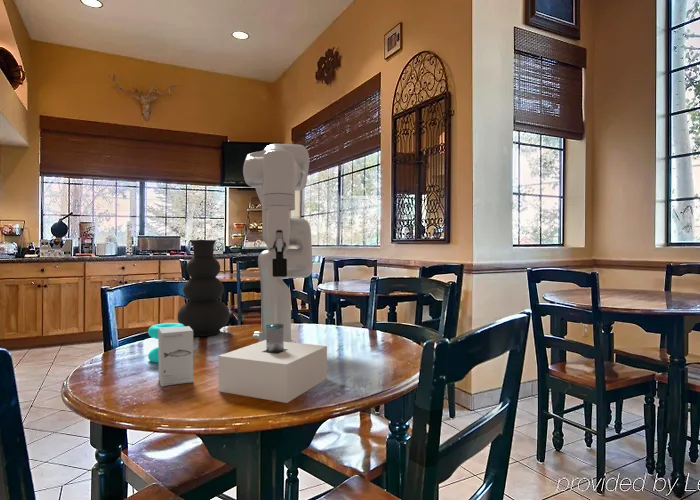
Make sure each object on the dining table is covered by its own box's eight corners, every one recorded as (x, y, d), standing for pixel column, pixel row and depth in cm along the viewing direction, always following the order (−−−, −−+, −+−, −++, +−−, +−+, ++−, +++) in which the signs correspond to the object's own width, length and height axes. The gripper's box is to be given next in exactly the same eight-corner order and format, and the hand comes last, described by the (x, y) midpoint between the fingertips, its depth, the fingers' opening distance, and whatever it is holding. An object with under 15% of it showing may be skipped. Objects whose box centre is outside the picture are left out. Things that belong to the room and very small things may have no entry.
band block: (218, 391, 97) (218, 355, 97) (266, 370, 114) (265, 339, 114) (287, 402, 90) (286, 364, 90) (327, 378, 106) (326, 346, 106)
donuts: (191, 324, 126) (157, 329, 118) (192, 359, 126) (157, 366, 118) (175, 320, 132) (142, 325, 125) (176, 353, 133) (142, 359, 125)
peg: (262, 358, 101) (262, 325, 101) (272, 354, 104) (272, 323, 104) (277, 360, 99) (277, 327, 99) (287, 356, 103) (286, 324, 103)
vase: (192, 329, 171) (191, 240, 171) (237, 329, 169) (236, 240, 169) (167, 339, 153) (166, 240, 153) (218, 340, 151) (217, 239, 151)
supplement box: (160, 387, 100) (160, 333, 100) (158, 379, 107) (157, 327, 107) (194, 382, 104) (193, 330, 104) (190, 374, 110) (189, 325, 110)
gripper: (264, 207, 111) (264, 274, 111) (261, 198, 94) (262, 277, 94) (293, 207, 112) (294, 273, 112) (296, 199, 95) (297, 277, 95)
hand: (279, 275), depth 103 cm, fingers open, 9 cm apart
